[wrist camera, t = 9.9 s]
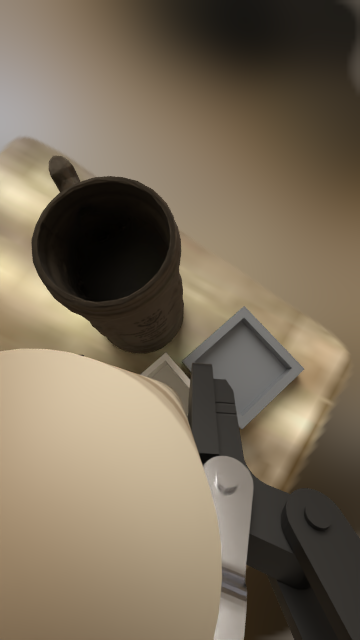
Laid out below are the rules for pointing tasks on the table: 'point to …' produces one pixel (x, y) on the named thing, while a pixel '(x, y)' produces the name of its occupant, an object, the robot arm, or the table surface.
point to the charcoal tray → (247, 363)
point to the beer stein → (112, 257)
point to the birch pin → (101, 506)
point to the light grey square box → (170, 377)
